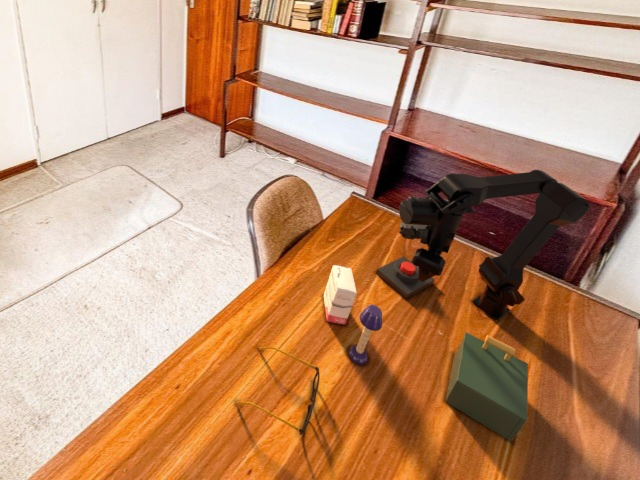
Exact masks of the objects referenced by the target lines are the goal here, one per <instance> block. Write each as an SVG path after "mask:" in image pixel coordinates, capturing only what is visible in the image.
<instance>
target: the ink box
mask: <svg viewBox="0 0 640 480" xmlns="http://www.w3.org/2000/svg"><path fill="white" fill-rule="evenodd" d="M354 279H355V278H354V275H353V270H352V268H351V267H348V266H344V265H340V264H339V265H338V264H333V265H332V268H331V271H330V274H329V277H328V280H327V283H326V287H325V290H324V293H323V301H324V309H325V317H326V322H329V323H334V324H339V325H346V324H347V322H348V319H349V316H350V313H351V310H352V308H353V306H354V303H355V300H356V297H357V294H358V292H357V287H356V283H355V280H354Z"/></svg>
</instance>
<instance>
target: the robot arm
mask: <svg viewBox="0 0 640 480" xmlns="http://www.w3.org/2000/svg"><path fill="white" fill-rule="evenodd" d="M440 193H441V194H442V195H443V196H444V197H445V199H443V198H442V196H441V195H440ZM424 194H425V196H426V197H416V196H408V198H407V199H404V200H402V202H400V204H399V209H398V212H399V213H398V214H399V217H400V220H401V222H400V224H399V231H398V233H399V234H400V236H401V237H402V238H403V239H408V240H412V241H413V240H419V243H421V244H422V245H426V246H427V247H428V248H426V249H425V248H424V247H420V248H417V249H416V250H415V253H414V255H413V257H412V260H411V262H412V263H413V264H414V265H416V266H417V267H419V280H420V281H422V282H424V281H426V280H428V279H430V278H431V277H432V278H433V277H435V276H437V277H440V276H441V275H442V273H443V270H444V268H445V265H446V260H445V258H444V257H443V256H442V254H443V253H445V254H449V251H450V248H451V245H452V243H453V242H454V239H455V236H456V234H457V231H458V229H459V227H460V224H461V222H462V221H463V217H464V215H465V214H475V212H476V211H475V209H473V208H472V207H476V206H479V205H481V204H482V203H483V202H484V201H486V200H489V199H498V198H507V197H517V196H518V197H519V196H526V195H528V196H529V195H535V194H536V195H537V197H536V198H535V201H534V202H535V203H534V205H535V211H534V214H533V215H532V217H530V219H529V221H528V222H527V223H526V224H525V225H524V226H523V228H522V229H521V230H520V231H519V233H518V234H517V236H515V238H513V240H512V241H511V242H510V244H508V246H507V247H506V249H505V250H504V251H503V252H502V253H501V255H497V256H493V257H490V256H486V257H485V258H484V260H483V261H482V262H481V263H480V264H478V267H479V268H478V274H479V276H480V279H481V280H482V281H483V282H484V283H485V287H484V289H483V291H482V293H481V294H480V295H479V296H477V297H476V298H475V299H473V300H472V304H474V305H476V306H477V307H478V308H480V309H481V310H482V311H483V312H485V313H486V314H488V315H489V316H490V317H492V318H493V319H494V320H495V321H499V320H500V319H502V318H503V317H505V316H506V315H508V314H509V313H510V312H511V309H510V308H508V307H509V306H510V307H515V305H518V306H519V305H521V304H522V303H523V302H524V301H525V300H526V299H525V298H524V296H523V294H521V293H520V292H519V289H520V287H521V286H522V284H523V283H524V269H525V268H526V266H528V264H529V263H530V262H531V261H532V260H533V258H535V256H536V255H537V254H538V253H539V252H540V250H541V249H542V248H543V247H544V246H545V244H546V243H547V242H548V241H549V240H550V239H551V238H552V237H553V235H554V234H555V233H556V232H557V230H558V229H559V228H560V227H563V226H568V225H571V224H575V223H577V222H578V221H579V220H580V219H581V218H583V216H584V215H586V214H587V212H588V211H589V210H590V207H591V205H590V203H589V201H588V200H587V199H586V198H585V197H584V196H582V195H581V194H579V193H578V192H576V191H575V190H573V189H571V188H570V187H569V186H567V185H566V184H564V183H562V182H558V180H557V179H555V178H554V177H553V176H552V175H550V174H548V173H547V172H545V171H544V170H541V169H533V170H531V171H528V172H518V173H510V174H509V173H508V174H499V175H490V176H475V175H471V174H468V173H449V174H446V175H444V177H442V178H441V179H440V180H438V181H437V182H435V183H434V184H433V185H431V186H430V187H429V188H428V189H426V190H425V191H424Z"/></svg>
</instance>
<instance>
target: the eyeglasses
mask: <svg viewBox="0 0 640 480" xmlns="http://www.w3.org/2000/svg"><path fill="white" fill-rule="evenodd" d="M268 349H270V350H275V351H277V352H279V353H281V354H283V355H285V356H287V357H289V358H291V359H293V360H296V361H298V362H300V363H301V364H304V365H306V366H308V367H309V368H311V369H313V370H315V374H314V377H313V380H312V387H311V395H310V398H309V401H310V402H311V403H310V404H308V405H307V406H306V407H307V413H306V416H305V419H304V421H303V425H302V427H301V428H299V427H298V426H296V425H294V424H293V423H291V422H289V421H287V420H285V419H283V418H282V417H280V416H277V415H276V414H274V413H273V412H270V411H269V410H267V409H265V408H263V407H262V406H259V405H257V404H254V402H253V403H252V402H250V401H236V402H235V403H236V405H237V406H243V405H250V406H253V407H255V408H257V409H259V410H260V411H263V412H265V414H268V415H269V416H271V417H273V418H275V419H276V420H278V421H280V422H282V423H284V424H285V425H287V426H288V427H290V428H292V429H294V430H295V431H297V432H299V435H300V436H302V435H303V433H304V432H305V429H306V428H307V427H308V424H309V422H310V419H311V417H312V414H313V409H314V405H315V403H316V397H317V394H318V390H319V385H320V377H321V376H320V375H321V374H320V368H319V367H318V366H316V365H313V364H311V363H309V362H307V361H305V360H303V359H301V358H299V357H296V356H294V355H292V354H290V353H287V352H286V351H283V350H281V349H279V348H277V347H273V346H261V347H258V350H260V351H264V350H268ZM316 379H317V380H316ZM315 383H316V385H315Z"/></svg>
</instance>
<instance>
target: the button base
mask: <svg viewBox="0 0 640 480" xmlns="http://www.w3.org/2000/svg"><path fill="white" fill-rule="evenodd" d="M403 262H409V263H411V264H413V263H412V260H409V258H407V257H405V256H401V257H399V258H397V259H395V260H393V261H391V262H388V263H387V264H385V265H382V266H380V267H379V268H377V269H376V271H375V274H376V275H377V276H379V278H381V279H382V280H383V281H385V282H386V283H387V284H388V285H389V286H390V287H391V288H393V289H394V290H395V291H397V292H398V293H399V294H400V295H401V296H402V297H403V298H404V299H408V298H410V297H412V296H414V295H415V294H417V293H419V292H420V291H422V290H425V289H426V288H428V287H429V286H432V285H433V284H434V282H435V278H433V277H431V278H430V279H428V280H426V281H424V282H422V281H420V280H419V267H418V266H416V265H414V264H413V265H414V266H415V268H416V269H415V272H414V274H413V275H407V274H405V273H403V272H402V271H401V270H400V267H401V264H402V263H403Z"/></svg>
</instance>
